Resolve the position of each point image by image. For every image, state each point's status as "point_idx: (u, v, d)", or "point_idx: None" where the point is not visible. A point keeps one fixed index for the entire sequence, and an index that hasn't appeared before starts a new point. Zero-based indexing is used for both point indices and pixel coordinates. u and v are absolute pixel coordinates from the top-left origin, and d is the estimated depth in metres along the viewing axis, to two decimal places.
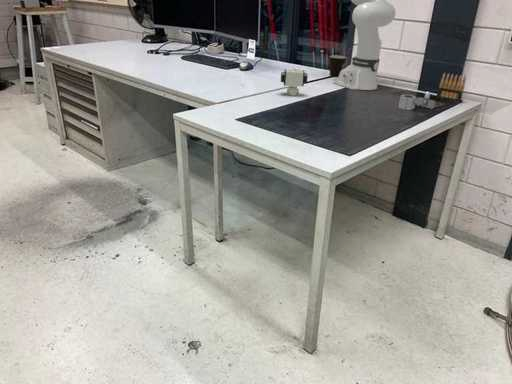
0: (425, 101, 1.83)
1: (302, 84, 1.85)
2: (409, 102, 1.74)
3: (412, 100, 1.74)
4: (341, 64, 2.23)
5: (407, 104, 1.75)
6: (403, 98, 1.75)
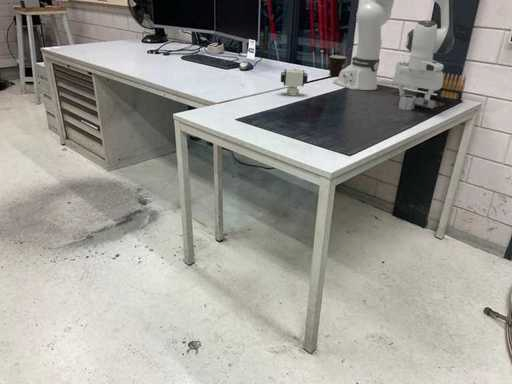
0: (425, 101, 1.83)
1: (302, 84, 1.85)
2: (409, 102, 1.74)
3: (412, 100, 1.74)
4: (341, 64, 2.23)
5: (407, 104, 1.75)
6: (403, 98, 1.75)
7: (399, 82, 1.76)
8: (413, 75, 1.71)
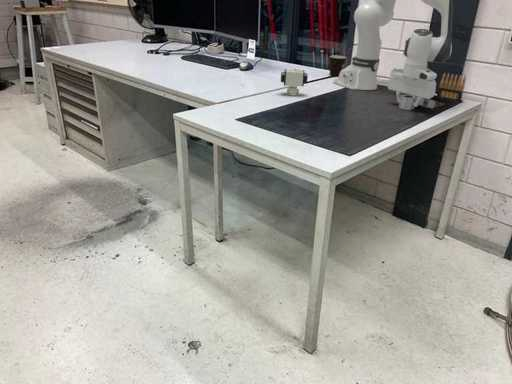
0: (425, 101, 1.83)
1: (302, 84, 1.85)
2: (409, 102, 1.74)
3: (412, 100, 1.74)
4: (341, 64, 2.23)
5: (407, 104, 1.74)
6: (403, 98, 1.75)
7: (393, 88, 1.78)
8: (407, 82, 1.73)
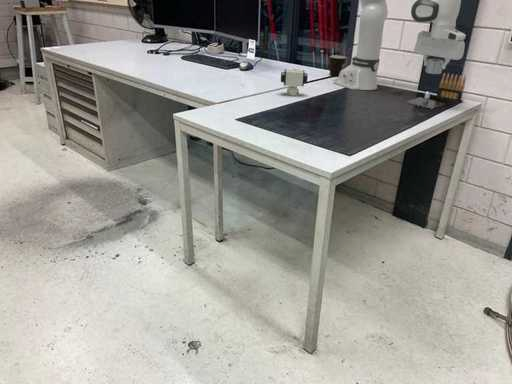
0: (425, 101, 1.83)
1: (302, 84, 1.85)
2: (436, 65, 1.74)
3: (440, 64, 1.74)
4: (341, 64, 2.23)
5: (435, 68, 1.74)
6: (430, 62, 1.75)
7: (420, 51, 1.78)
8: (434, 44, 1.73)
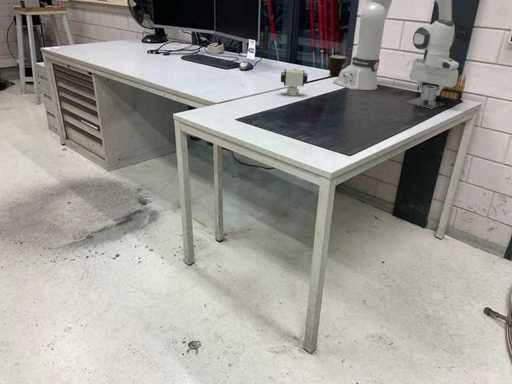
0: (425, 101, 1.83)
1: (302, 84, 1.85)
2: (431, 92, 1.80)
3: (434, 90, 1.79)
4: (341, 64, 2.23)
5: (429, 94, 1.80)
6: (425, 89, 1.80)
7: (415, 78, 1.83)
8: (429, 72, 1.78)
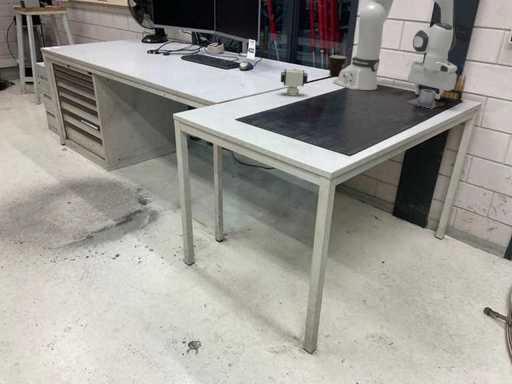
0: None
1: (302, 84, 1.85)
2: (429, 96, 1.80)
3: (432, 94, 1.80)
4: (341, 64, 2.23)
5: (427, 98, 1.81)
6: (423, 92, 1.81)
7: (413, 81, 1.84)
8: (427, 75, 1.79)
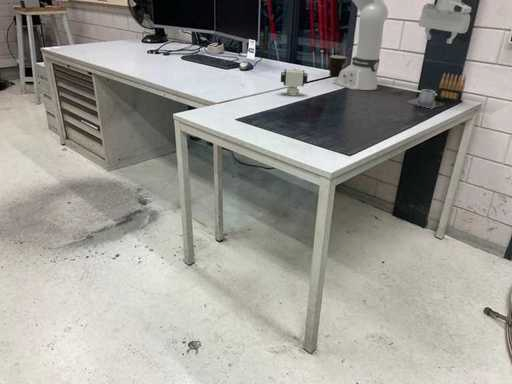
0: None
1: (302, 84, 1.85)
2: (429, 96, 1.80)
3: (432, 94, 1.80)
4: (341, 64, 2.23)
5: (427, 98, 1.81)
6: (423, 92, 1.81)
7: (424, 25, 1.75)
8: (439, 17, 1.70)
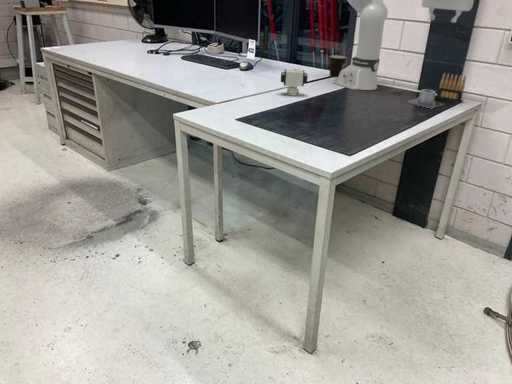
0: None
1: (302, 84, 1.85)
2: (429, 96, 1.80)
3: (432, 94, 1.80)
4: (341, 64, 2.23)
5: (427, 98, 1.81)
6: (423, 92, 1.81)
7: (428, 5, 1.74)
8: None
